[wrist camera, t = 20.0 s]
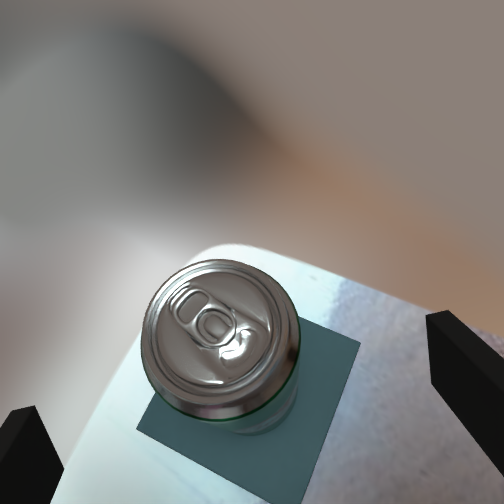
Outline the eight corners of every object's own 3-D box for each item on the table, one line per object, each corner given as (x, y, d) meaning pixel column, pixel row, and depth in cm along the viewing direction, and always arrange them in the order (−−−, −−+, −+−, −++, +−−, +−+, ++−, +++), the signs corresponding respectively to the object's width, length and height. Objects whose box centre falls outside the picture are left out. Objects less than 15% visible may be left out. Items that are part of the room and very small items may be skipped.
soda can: (256, 459, 22) (220, 463, 11) (185, 392, 23) (93, 339, 13) (317, 379, 23) (337, 312, 12) (245, 321, 25) (208, 218, 14)
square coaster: (354, 354, 26) (361, 342, 24) (295, 510, 23) (295, 517, 21) (222, 296, 29) (214, 280, 26) (152, 431, 26) (135, 429, 23)
